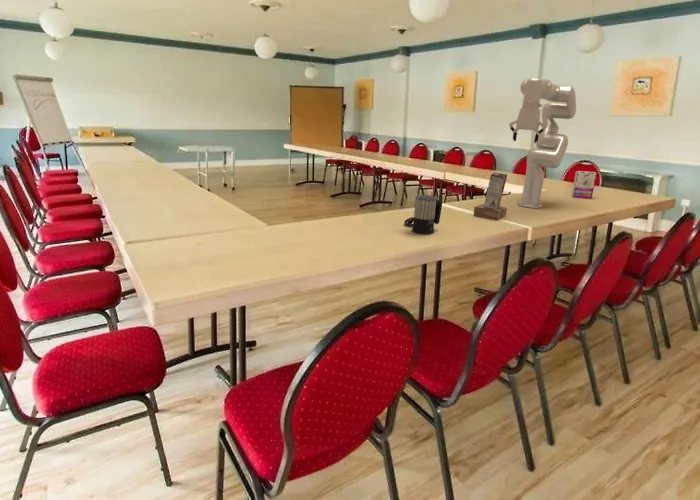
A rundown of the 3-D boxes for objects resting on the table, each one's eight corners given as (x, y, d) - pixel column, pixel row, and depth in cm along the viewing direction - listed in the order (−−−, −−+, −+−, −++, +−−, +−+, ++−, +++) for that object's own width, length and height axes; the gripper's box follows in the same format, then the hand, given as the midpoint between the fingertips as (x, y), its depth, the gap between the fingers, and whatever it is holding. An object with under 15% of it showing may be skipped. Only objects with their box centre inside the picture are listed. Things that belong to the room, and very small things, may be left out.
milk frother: (427, 236, 192) (431, 200, 187) (393, 228, 200) (396, 194, 196) (441, 229, 203) (445, 195, 199) (408, 222, 211) (412, 190, 207)
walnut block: (482, 212, 241) (483, 203, 240) (505, 217, 235) (507, 207, 233) (473, 216, 232) (474, 206, 231) (497, 221, 225) (498, 211, 224)
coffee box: (487, 203, 237) (494, 171, 231) (500, 206, 235) (507, 174, 229) (483, 206, 229) (490, 174, 223) (496, 209, 227) (504, 177, 221)
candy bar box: (589, 197, 300) (594, 171, 295) (591, 199, 295) (597, 173, 290) (570, 196, 302) (575, 170, 297) (572, 197, 297) (578, 171, 292)
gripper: (550, 106, 227) (544, 142, 233) (513, 104, 234) (508, 139, 240) (548, 106, 221) (542, 144, 226) (510, 104, 228) (505, 140, 233)
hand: (524, 141), depth 233 cm, fingers open, 9 cm apart
